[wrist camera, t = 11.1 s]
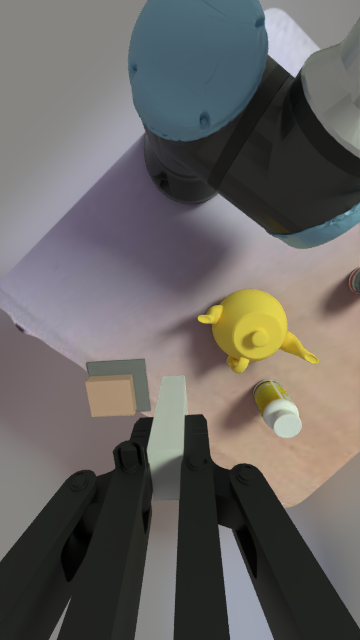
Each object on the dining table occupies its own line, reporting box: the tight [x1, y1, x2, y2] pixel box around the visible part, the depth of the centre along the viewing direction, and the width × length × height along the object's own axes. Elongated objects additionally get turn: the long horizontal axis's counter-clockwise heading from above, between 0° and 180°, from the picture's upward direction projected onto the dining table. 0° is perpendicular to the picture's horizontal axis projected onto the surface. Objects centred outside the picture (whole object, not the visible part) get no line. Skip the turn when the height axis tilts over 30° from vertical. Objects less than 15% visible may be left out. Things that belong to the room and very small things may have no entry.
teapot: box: [198, 289, 319, 373], centre depth 44 cm, size 20×15×12 cm
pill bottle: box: [253, 379, 302, 438], centre depth 47 cm, size 6×6×11 cm
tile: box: [85, 374, 137, 417], centre depth 52 cm, size 8×2×9 cm
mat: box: [87, 359, 151, 412], centre depth 53 cm, size 12×12×1 cm
